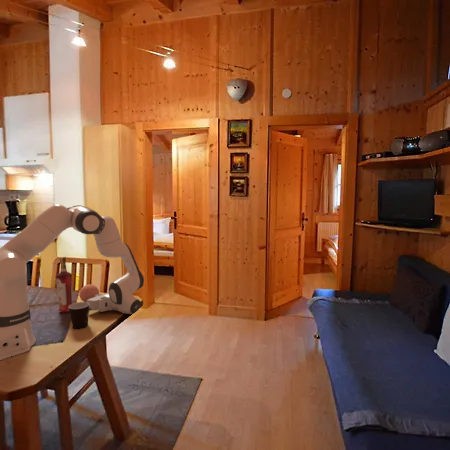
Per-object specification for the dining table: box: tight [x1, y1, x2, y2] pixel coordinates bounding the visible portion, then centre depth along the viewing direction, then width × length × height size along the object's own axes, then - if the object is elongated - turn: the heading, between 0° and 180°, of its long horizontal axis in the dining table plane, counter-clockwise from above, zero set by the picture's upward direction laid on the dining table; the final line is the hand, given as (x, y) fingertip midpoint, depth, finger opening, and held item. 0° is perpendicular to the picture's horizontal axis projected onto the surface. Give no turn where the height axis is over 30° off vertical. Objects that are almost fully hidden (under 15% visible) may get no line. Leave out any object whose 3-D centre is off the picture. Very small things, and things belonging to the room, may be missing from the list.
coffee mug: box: [68, 301, 90, 331], centre depth 151 cm, size 12×9×10 cm
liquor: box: [55, 256, 73, 314], centre depth 167 cm, size 7×7×28 cm
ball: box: [79, 283, 100, 302], centre depth 180 cm, size 10×10×10 cm
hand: (96, 295), depth 176 cm, fingers closed
